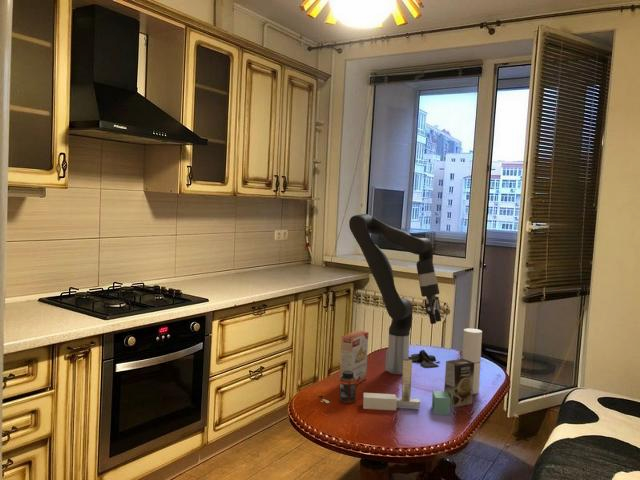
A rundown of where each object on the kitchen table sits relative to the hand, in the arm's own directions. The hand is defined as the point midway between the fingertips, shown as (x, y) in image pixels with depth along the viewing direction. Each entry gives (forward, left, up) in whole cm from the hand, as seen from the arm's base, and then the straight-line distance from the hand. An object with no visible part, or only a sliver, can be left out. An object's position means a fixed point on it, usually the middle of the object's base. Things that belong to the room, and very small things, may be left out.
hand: (436, 322), depth 216 cm
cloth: (-18, +28, -27) cm, 43 cm away
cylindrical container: (+15, +4, -27) cm, 30 cm away
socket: (+15, -24, -26) cm, 39 cm away
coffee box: (+17, -12, -27) cm, 34 cm away
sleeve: (-3, -37, -26) cm, 45 cm away
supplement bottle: (-15, -40, -27) cm, 51 cm away
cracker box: (-25, -22, -27) cm, 43 cm away
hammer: (+1, -34, -25) cm, 43 cm away
